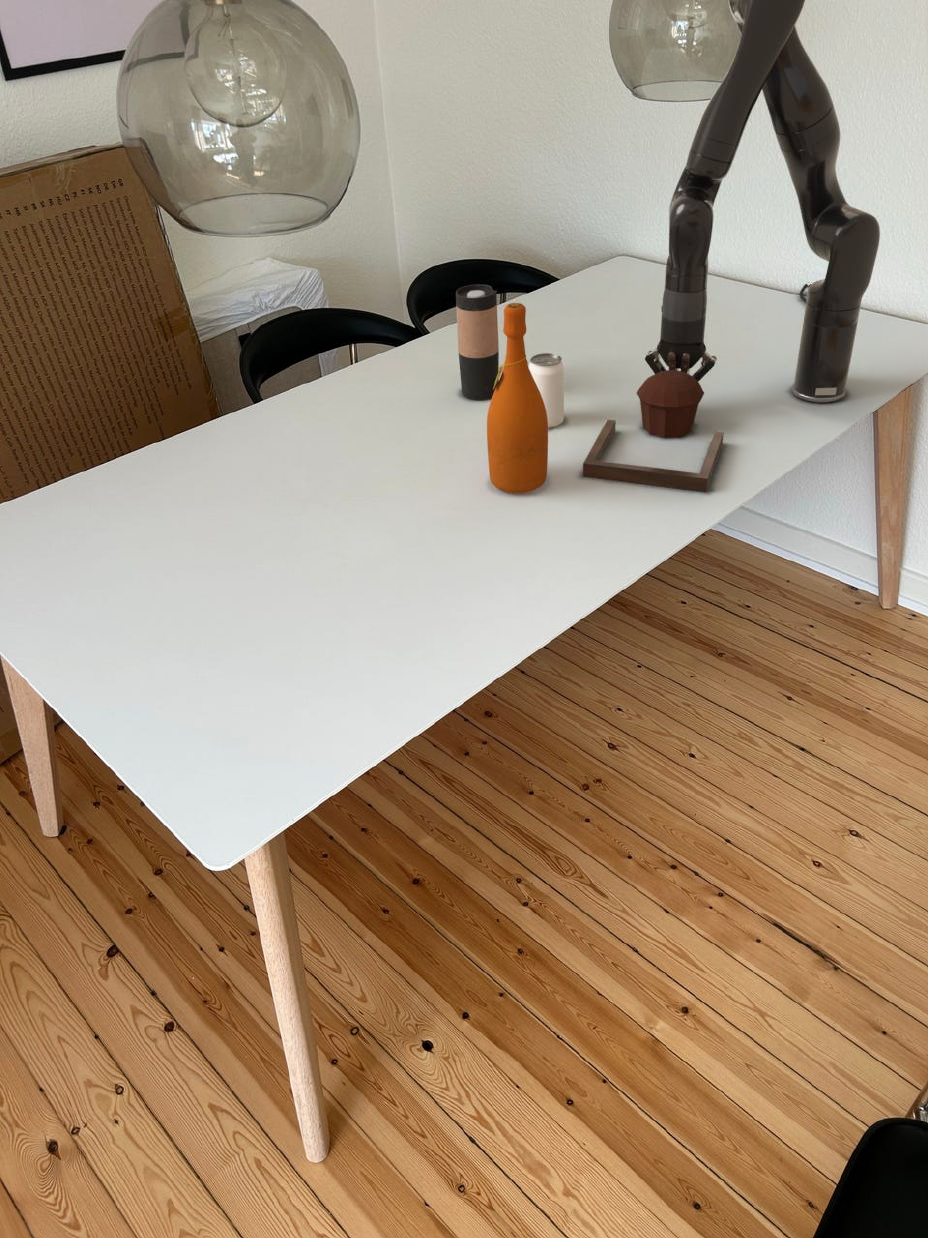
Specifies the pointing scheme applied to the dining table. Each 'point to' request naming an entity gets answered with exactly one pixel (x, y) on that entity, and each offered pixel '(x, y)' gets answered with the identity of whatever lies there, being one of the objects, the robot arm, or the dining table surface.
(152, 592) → the dining table surface
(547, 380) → the can
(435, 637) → the dining table surface
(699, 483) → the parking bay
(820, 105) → the robot arm
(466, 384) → the travel mug
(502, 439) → the wine bottle
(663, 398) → the muffin
